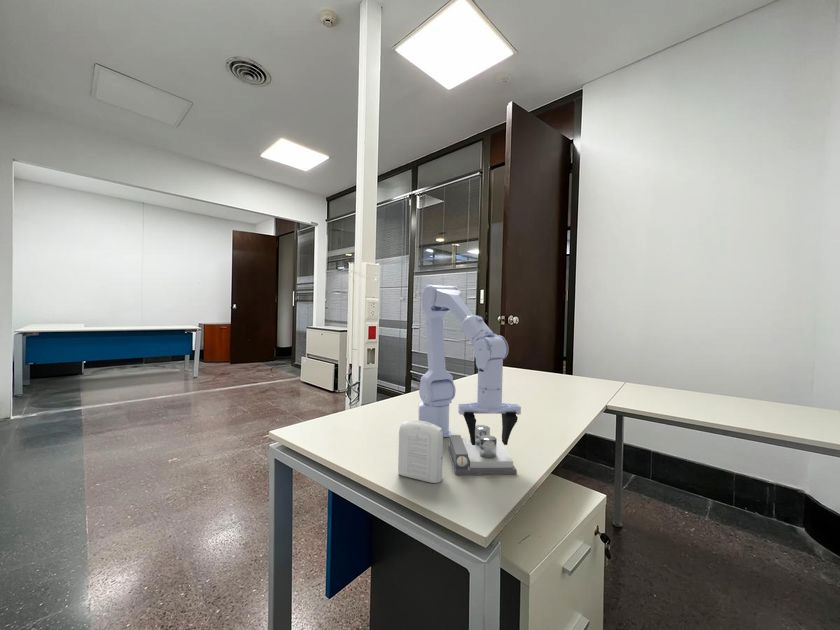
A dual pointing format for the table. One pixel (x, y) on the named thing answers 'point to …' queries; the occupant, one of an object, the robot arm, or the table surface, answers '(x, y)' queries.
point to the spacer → (487, 446)
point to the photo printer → (420, 451)
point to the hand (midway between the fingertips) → (488, 443)
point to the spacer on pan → (481, 432)
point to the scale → (478, 459)
